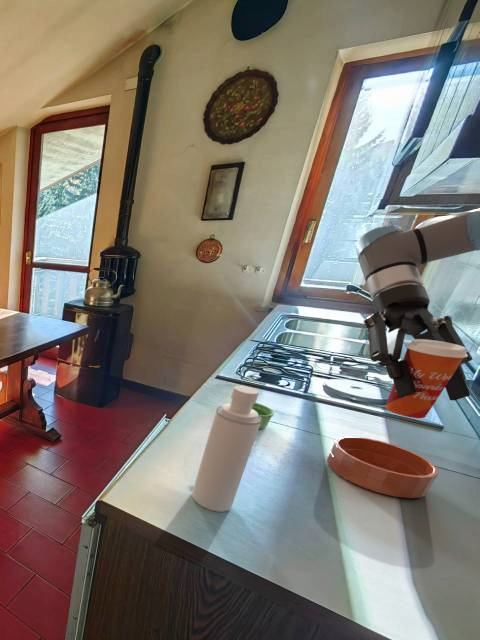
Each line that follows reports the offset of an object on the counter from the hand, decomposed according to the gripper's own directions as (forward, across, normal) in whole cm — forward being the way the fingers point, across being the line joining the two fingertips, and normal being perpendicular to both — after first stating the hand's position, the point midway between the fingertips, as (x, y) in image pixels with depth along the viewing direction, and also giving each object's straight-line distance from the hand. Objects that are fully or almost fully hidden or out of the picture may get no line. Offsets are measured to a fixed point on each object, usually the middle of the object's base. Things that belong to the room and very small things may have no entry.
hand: (433, 396), depth 72 cm
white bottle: (+22, +38, -7) cm, 44 cm away
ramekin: (-3, +14, -33) cm, 36 cm away
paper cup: (+1, 0, -6) cm, 6 cm away
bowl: (+12, 0, -17) cm, 21 cm away
